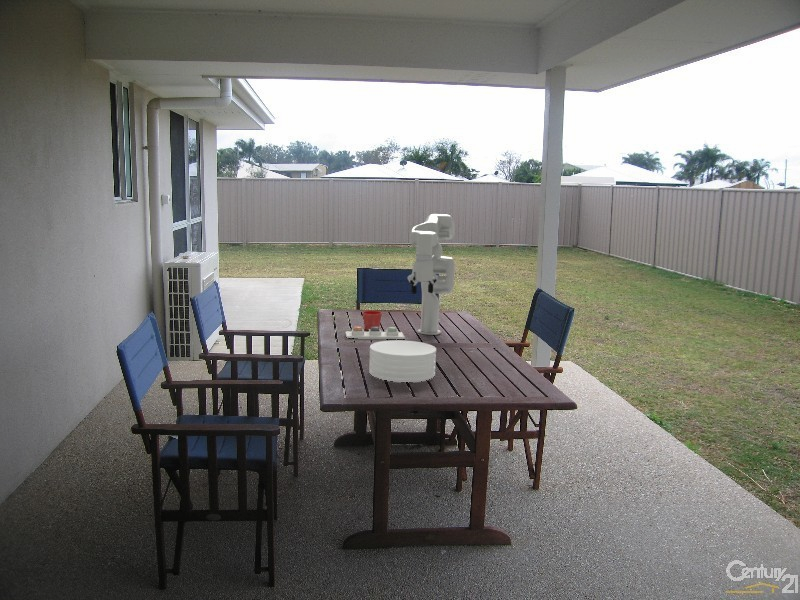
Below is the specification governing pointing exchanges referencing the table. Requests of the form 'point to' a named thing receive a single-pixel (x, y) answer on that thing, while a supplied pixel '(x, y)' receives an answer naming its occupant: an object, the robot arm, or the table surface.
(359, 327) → the terracotta button
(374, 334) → the button board
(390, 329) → the sage button
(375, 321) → the flower pot
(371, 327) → the charcoal button
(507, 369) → the table surface
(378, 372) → the plate stack
